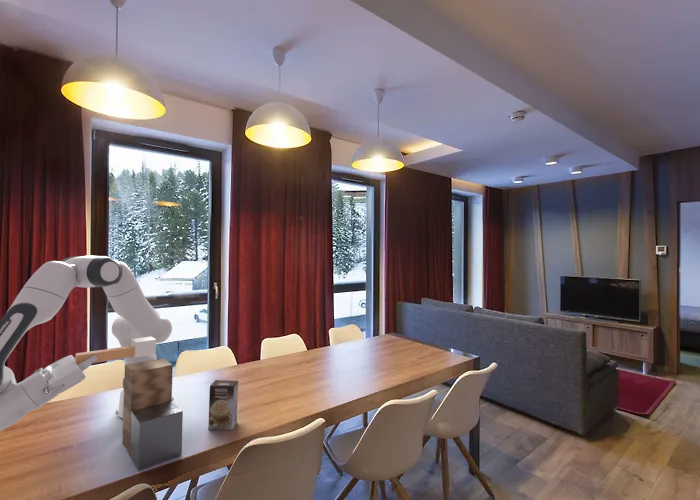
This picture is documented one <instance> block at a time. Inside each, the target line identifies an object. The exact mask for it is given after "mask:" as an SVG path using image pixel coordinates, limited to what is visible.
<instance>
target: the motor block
mask: <svg viewBox="0 0 700 500" xmlns="http://www.w3.org/2000/svg"><path fill="white" fill-rule="evenodd" d="M183 411H184V410H182V408H180V406H179V405H177V404H176V403H175V402H174V401H173V400H172V401H169V402H165V403H161V404H158V405H154V406H150V407H146V408H142V409H138V410H134V411H131V439H130V455H129V457H130V459H131V461H132V462H133V464H134V466H135V468H136V470H137V472H140V471H142V470H145V469H147V468H148V469H149V468H151V467H153V466H156V465H159V464H162V463H164V462H167V461H170V460H172V459H176V458H179V457H181V456H182V452H183V451H182V450H183V447H182V446H183V419H184V417H183V415H184V413H183Z"/></svg>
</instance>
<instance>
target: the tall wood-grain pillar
mask: <svg viewBox="0 0 700 500" xmlns="http://www.w3.org/2000/svg"><path fill="white" fill-rule="evenodd" d="M173 368H174V366H173V364H172V363H171V362H169V361H168V360H166V359H165V358H164V357H162V358H157V359H156V360H150V361H145V362H139V363H133V364H127V365H125V364H124V377H123V379H124V406H123V418H122V436H121V437H122V439H121V441H122V444H123V446H124V447H125V449H126V451H127V453H128V455H129V456H130V439H131V411H134V410H138V409H142V408H146V407H150V406H154V405H158V404H161V403H165V402H169V401H173V400H172V396H173V394H172V393H173Z"/></svg>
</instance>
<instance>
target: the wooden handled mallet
mask: <svg viewBox="0 0 700 500" xmlns="http://www.w3.org/2000/svg"><path fill="white" fill-rule="evenodd" d="M155 354H156V355H157V343H156V339H155V338H153V337H143V338H135V339H132V341H131V346H127V347H121V346H119V347H115V348H113V347H112V348H106V349H99V350H93V351H92V350H89V351H84V352H77V353H75V357H74V358H75V361H76V363H77V364H80V363H81V362H84V361H85V360H87V359H88V358H89V357H90V356H92V355H96V357H97V358H98V360H97V361H95V362H94V363H93V364H97V363H101V362H107V361H108V362H109V361H113V360H114V361H115V360H123V359H124V358H129V357H135V358H136V357H143V356H149V355H155Z"/></svg>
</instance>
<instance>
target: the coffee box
mask: <svg viewBox="0 0 700 500" xmlns="http://www.w3.org/2000/svg"><path fill="white" fill-rule="evenodd" d="M238 396H239V380H233V379H232V380H225V379H215V380H213V382H212V383H211V384H210V385H209V401H208V404H209V405H208V426H207V430H213V431H215V430H217V431H221V430H223V431H225V430H226V431H232V430H233V429H234V428H235V426H236V424H237V423H238V401H239V400H238V398H239V397H238Z"/></svg>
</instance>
